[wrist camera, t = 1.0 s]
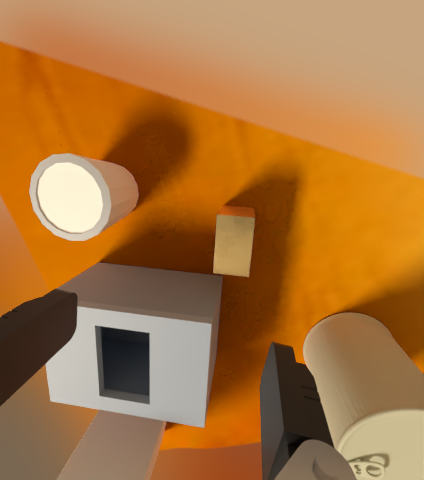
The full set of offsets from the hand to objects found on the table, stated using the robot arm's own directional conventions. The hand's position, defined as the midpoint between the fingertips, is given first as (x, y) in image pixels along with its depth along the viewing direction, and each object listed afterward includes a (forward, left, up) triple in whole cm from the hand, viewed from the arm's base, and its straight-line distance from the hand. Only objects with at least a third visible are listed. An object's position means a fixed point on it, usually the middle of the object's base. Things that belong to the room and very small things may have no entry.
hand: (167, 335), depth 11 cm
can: (-15, +12, -17) cm, 26 cm away
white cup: (+11, -3, -17) cm, 21 cm away
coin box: (+6, +10, -17) cm, 21 cm away
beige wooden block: (-2, 0, -17) cm, 17 cm away
